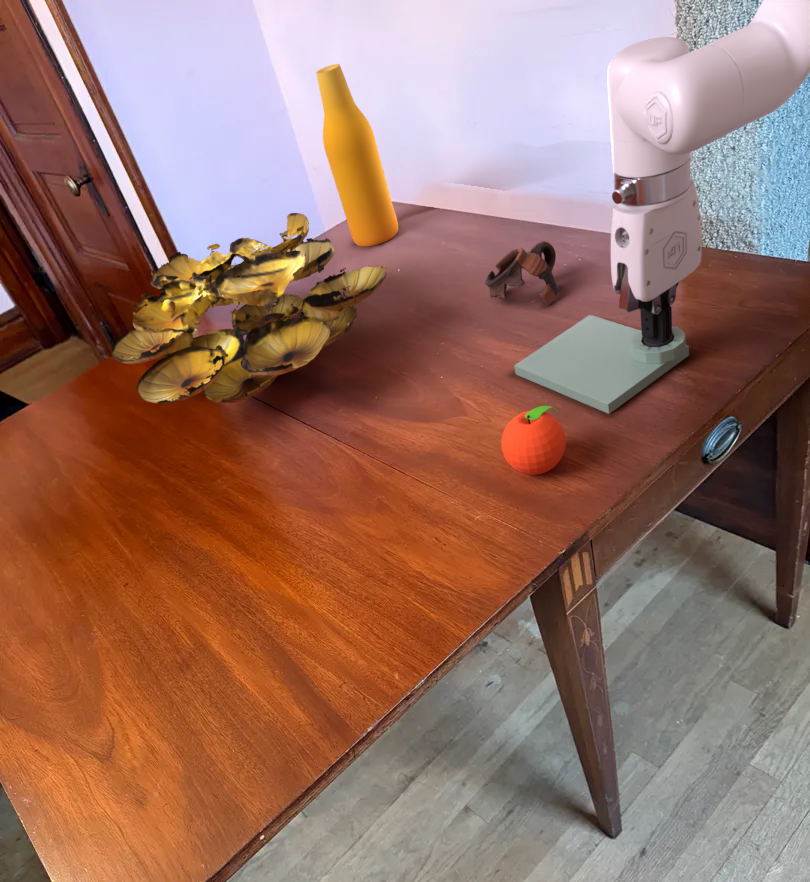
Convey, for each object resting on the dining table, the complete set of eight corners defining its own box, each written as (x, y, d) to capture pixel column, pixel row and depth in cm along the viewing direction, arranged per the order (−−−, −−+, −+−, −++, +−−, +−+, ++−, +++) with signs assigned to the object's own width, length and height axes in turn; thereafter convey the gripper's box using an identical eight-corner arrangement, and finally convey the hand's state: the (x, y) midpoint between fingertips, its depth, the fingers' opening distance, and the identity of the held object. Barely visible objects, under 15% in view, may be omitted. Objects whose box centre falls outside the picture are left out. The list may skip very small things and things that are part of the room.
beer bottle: (347, 250, 143) (294, 83, 124) (361, 229, 149) (312, 66, 130) (392, 243, 140) (344, 70, 120) (404, 222, 146) (360, 54, 127)
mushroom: (340, 273, 136) (307, 176, 125) (447, 368, 103) (416, 247, 91) (131, 368, 131) (76, 275, 119) (173, 500, 98) (103, 389, 86)
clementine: (539, 435, 87) (530, 384, 82) (588, 453, 83) (581, 400, 78) (494, 475, 84) (482, 424, 80) (542, 495, 80) (532, 443, 75)
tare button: (677, 345, 90) (677, 334, 89) (659, 358, 89) (659, 347, 88) (656, 338, 92) (656, 327, 91) (638, 351, 91) (638, 340, 90)
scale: (695, 354, 91) (696, 332, 89) (612, 415, 86) (610, 394, 84) (593, 321, 102) (591, 301, 100) (515, 374, 98) (511, 354, 96)
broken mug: (543, 320, 107) (506, 277, 103) (505, 333, 115) (469, 294, 112) (584, 260, 110) (549, 217, 106) (543, 278, 118) (510, 238, 115)
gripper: (630, 217, 73) (639, 376, 85) (730, 154, 77) (724, 314, 89) (574, 207, 78) (589, 358, 90) (670, 148, 82) (672, 300, 95)
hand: (656, 336), depth 90 cm, fingers closed
